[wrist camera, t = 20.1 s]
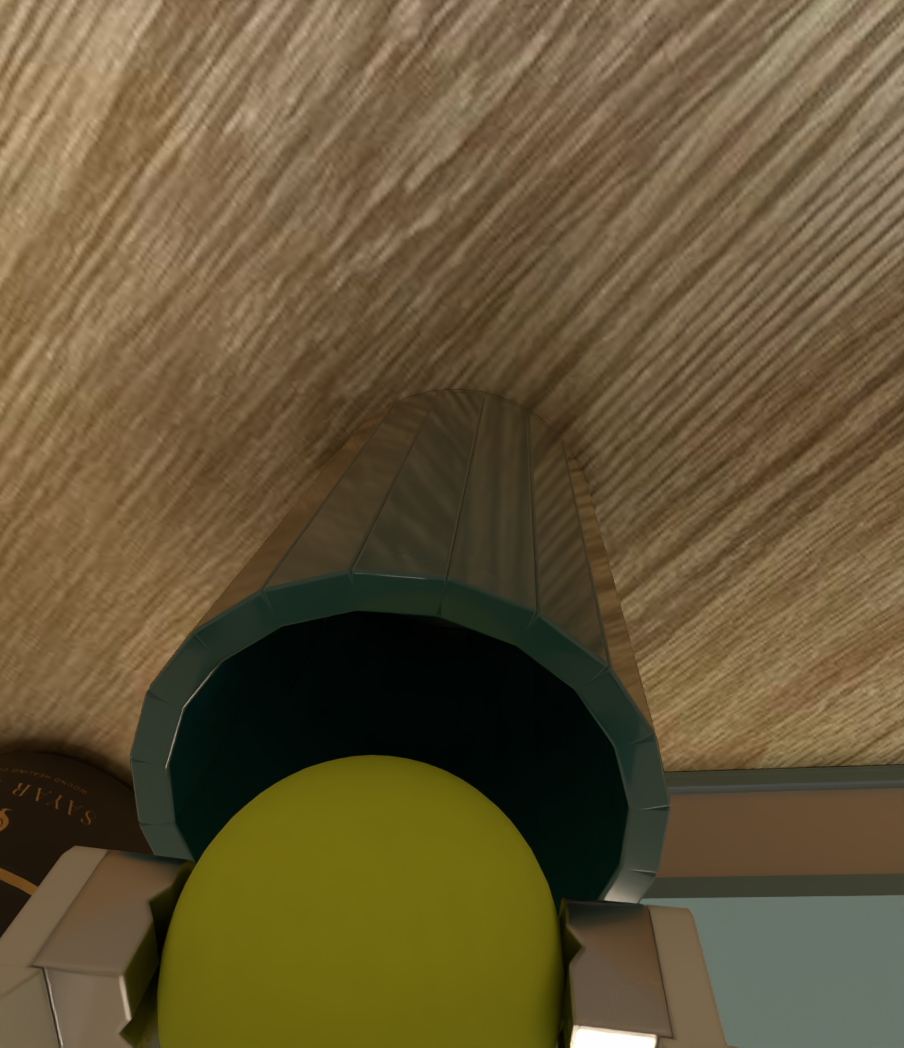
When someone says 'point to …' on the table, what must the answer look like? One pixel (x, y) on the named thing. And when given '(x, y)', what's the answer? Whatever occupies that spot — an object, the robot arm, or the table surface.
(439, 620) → the tube
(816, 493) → the table surface
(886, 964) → the book
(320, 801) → the ball
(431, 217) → the table surface
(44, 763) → the jar
